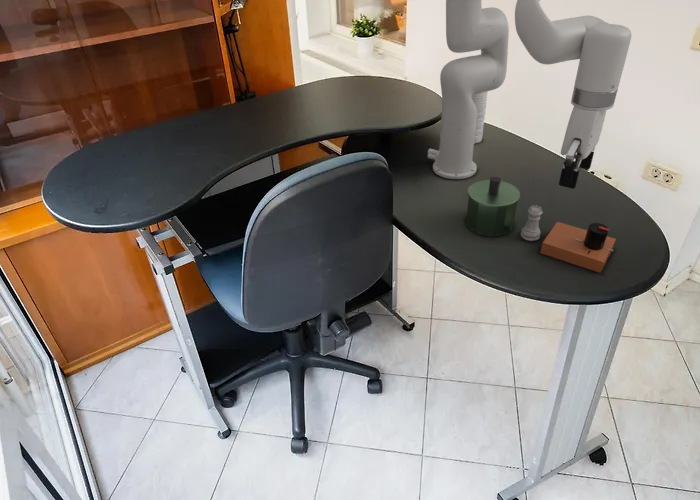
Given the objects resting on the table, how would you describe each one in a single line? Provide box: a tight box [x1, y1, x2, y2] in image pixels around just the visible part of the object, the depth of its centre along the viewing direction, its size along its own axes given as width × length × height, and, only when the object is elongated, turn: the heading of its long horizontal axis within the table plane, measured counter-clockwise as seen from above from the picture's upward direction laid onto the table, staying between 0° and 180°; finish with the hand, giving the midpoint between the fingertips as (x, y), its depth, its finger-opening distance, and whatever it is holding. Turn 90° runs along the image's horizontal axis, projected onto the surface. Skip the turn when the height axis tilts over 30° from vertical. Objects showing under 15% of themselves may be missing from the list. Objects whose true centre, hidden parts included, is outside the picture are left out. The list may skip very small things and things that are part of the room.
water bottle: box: [471, 91, 489, 145], centre depth 156 cm, size 9×6×25 cm
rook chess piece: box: [520, 204, 544, 242], centre depth 117 cm, size 4×4×8 cm
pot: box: [465, 196, 519, 238], centre depth 122 cm, size 11×11×8 cm
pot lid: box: [467, 176, 521, 207], centre depth 118 cm, size 12×12×5 cm
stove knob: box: [584, 222, 610, 250], centre depth 109 cm, size 4×4×5 cm
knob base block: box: [540, 221, 617, 274], centre depth 113 cm, size 14×10×3 cm
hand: (574, 176), depth 105 cm, fingers open, 9 cm apart
